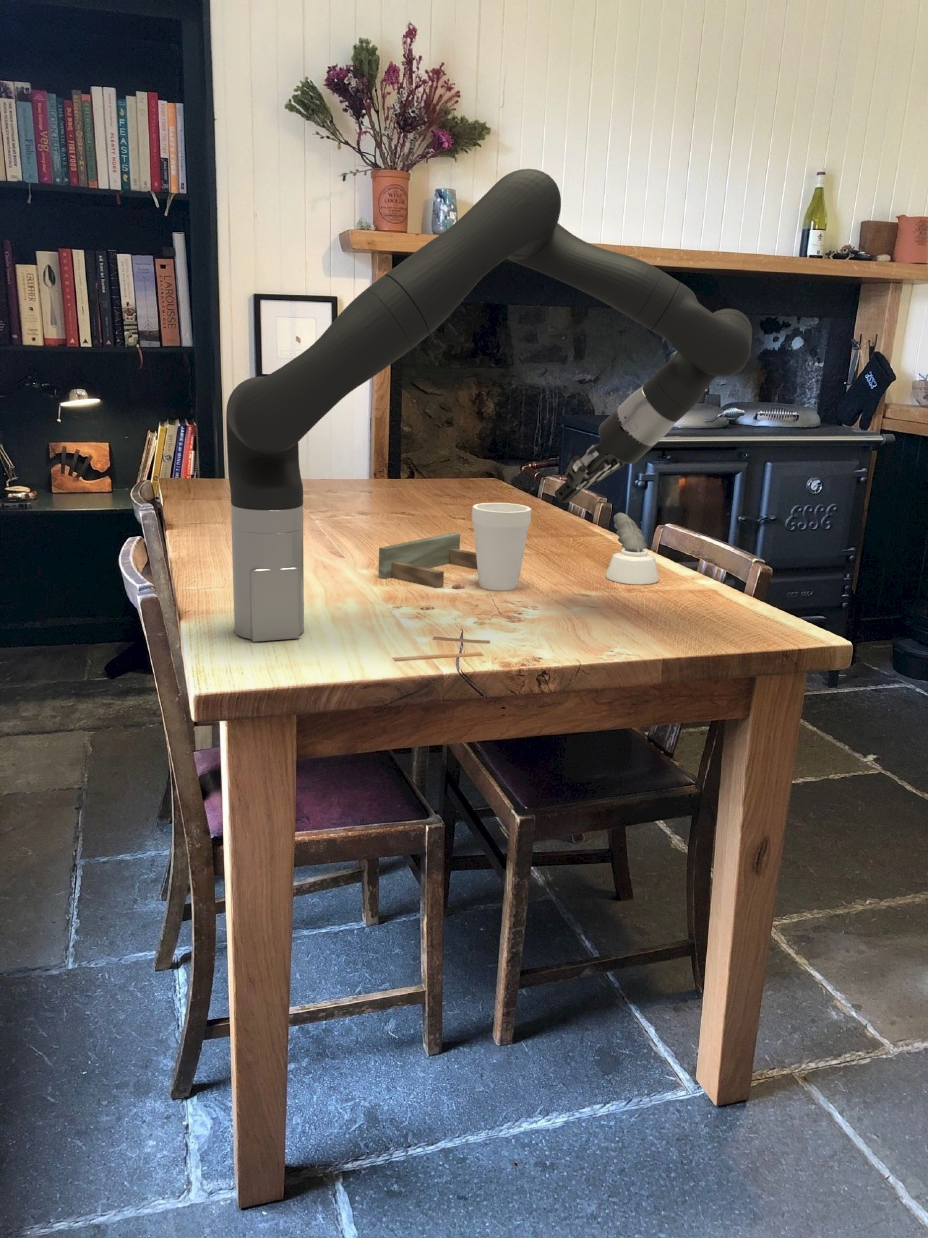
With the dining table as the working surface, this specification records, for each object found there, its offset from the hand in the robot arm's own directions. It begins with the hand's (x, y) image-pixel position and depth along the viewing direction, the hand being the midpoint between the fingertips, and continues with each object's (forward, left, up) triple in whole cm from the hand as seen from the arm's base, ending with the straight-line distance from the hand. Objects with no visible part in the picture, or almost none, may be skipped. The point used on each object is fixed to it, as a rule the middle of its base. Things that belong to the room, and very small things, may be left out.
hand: (560, 498), depth 151 cm
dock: (+20, +11, -16) cm, 28 cm away
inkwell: (+13, -21, -16) cm, 29 cm away
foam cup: (+9, +5, -16) cm, 19 cm away
